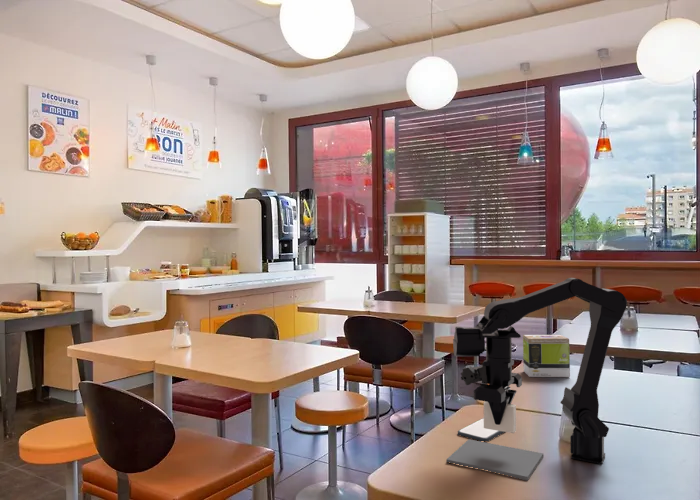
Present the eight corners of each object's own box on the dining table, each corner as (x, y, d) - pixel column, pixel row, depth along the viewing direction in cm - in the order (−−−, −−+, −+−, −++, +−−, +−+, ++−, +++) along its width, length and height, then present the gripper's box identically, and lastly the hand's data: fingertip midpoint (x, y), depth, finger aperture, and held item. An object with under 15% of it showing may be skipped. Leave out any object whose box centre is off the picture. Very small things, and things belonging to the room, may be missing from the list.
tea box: (562, 372, 211) (562, 334, 211) (570, 378, 201) (570, 338, 201) (522, 371, 213) (522, 333, 213) (528, 377, 203) (528, 337, 203)
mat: (543, 456, 127) (543, 453, 127) (527, 480, 114) (527, 476, 114) (468, 442, 136) (468, 439, 136) (446, 462, 123) (446, 459, 123)
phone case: (486, 445, 136) (515, 428, 148) (486, 439, 136) (515, 422, 147) (455, 437, 142) (485, 421, 154) (455, 431, 142) (485, 415, 153)
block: (483, 428, 128) (483, 402, 128) (486, 425, 130) (486, 400, 130) (513, 433, 124) (513, 407, 124) (516, 430, 126) (515, 404, 126)
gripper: (478, 346, 139) (478, 407, 139) (451, 360, 123) (451, 428, 123) (522, 350, 133) (522, 414, 133) (500, 365, 117) (500, 437, 117)
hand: (499, 423), depth 127 cm, fingers closed on block, 2 cm apart
